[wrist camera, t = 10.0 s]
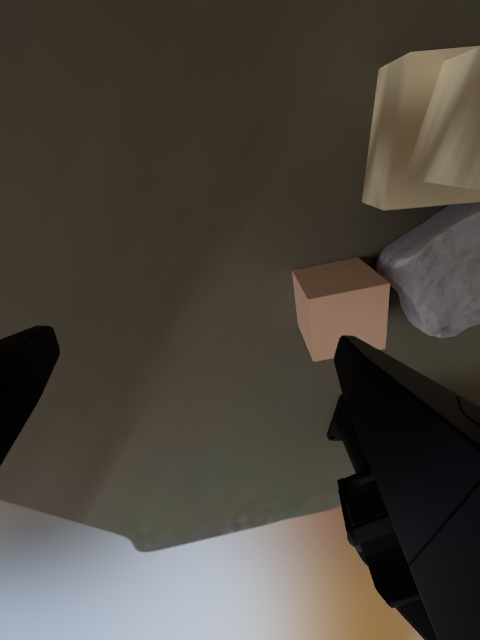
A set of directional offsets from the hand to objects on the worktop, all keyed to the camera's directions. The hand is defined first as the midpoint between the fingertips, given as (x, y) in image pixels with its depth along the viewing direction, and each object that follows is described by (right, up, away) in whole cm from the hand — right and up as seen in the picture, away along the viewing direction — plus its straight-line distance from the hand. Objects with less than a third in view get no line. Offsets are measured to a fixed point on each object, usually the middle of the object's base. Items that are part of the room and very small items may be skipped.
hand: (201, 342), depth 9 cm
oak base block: (+13, +12, +9) cm, 20 cm away
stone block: (+18, +6, +13) cm, 23 cm away
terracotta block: (+8, +3, +14) cm, 16 cm away
